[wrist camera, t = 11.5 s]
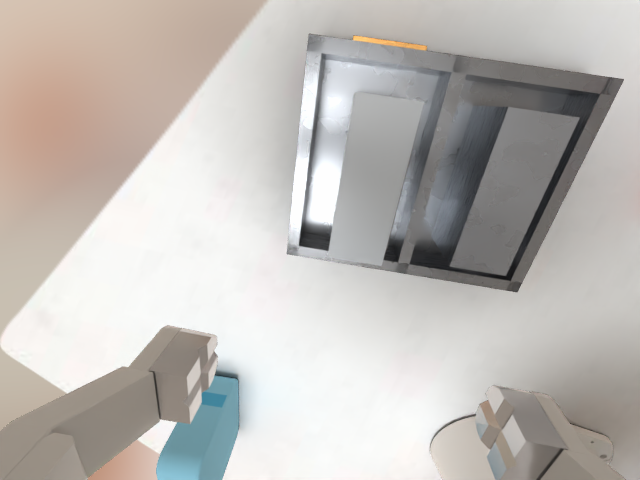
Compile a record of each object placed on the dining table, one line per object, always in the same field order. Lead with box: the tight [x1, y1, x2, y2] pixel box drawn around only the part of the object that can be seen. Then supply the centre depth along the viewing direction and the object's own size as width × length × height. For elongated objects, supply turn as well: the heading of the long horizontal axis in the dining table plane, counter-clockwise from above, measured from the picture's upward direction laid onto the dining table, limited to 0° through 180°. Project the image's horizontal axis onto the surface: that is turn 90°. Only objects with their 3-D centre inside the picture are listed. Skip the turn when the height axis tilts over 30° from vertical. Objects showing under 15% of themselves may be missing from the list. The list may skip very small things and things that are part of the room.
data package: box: [156, 375, 239, 480], centre depth 38 cm, size 12×4×12 cm, turn 174°
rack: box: [287, 34, 624, 292], centre depth 24 cm, size 21×17×7 cm
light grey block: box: [328, 92, 424, 266], centre depth 23 cm, size 4×11×8 cm, turn 172°
